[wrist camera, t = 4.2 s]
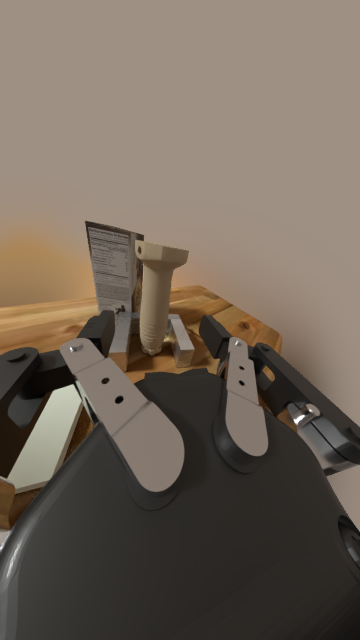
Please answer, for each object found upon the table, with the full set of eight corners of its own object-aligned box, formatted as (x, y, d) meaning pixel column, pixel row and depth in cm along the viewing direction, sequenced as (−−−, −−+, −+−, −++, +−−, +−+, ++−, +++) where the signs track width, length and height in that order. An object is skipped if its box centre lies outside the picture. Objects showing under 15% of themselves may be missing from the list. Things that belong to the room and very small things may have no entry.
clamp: (109, 373, 16) (106, 352, 14) (120, 327, 24) (119, 311, 23) (189, 366, 19) (194, 349, 18) (175, 328, 27) (178, 314, 26)
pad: (-183, 549, 6) (-211, 549, 6) (-3, 378, 13) (-8, 371, 13) (55, 483, 9) (50, 479, 8) (95, 370, 16) (94, 365, 16)
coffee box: (116, 304, 32) (111, 227, 25) (142, 307, 33) (145, 234, 25) (98, 322, 25) (81, 218, 17) (132, 326, 25) (132, 229, 18)
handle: (153, 334, 24) (162, 245, 17) (174, 355, 21) (197, 252, 13) (128, 342, 21) (126, 237, 14) (148, 369, 18) (158, 245, 10)
